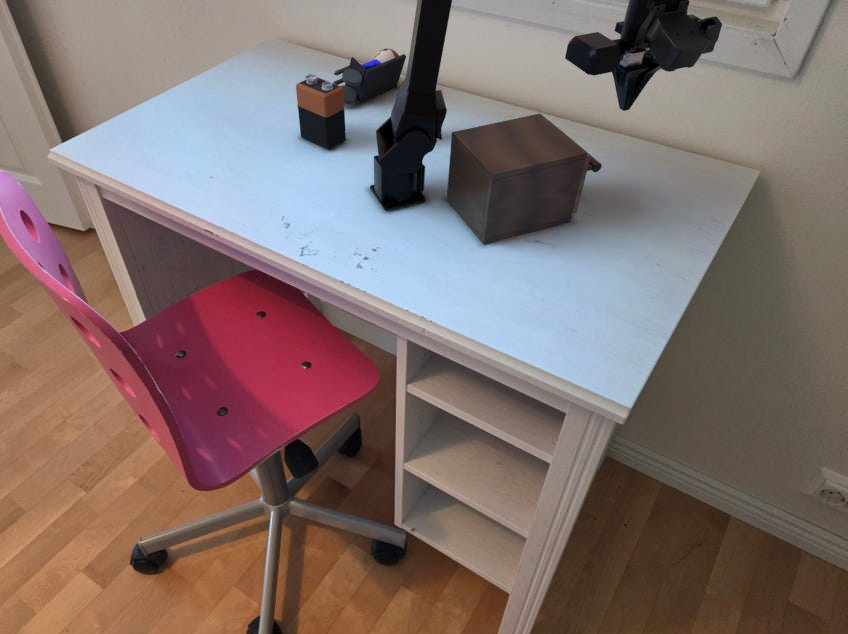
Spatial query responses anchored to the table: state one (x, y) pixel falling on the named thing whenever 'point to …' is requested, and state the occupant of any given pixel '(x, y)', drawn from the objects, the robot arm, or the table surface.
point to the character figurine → (371, 76)
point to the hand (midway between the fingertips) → (623, 109)
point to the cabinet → (513, 177)
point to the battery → (321, 111)
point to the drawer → (589, 165)
